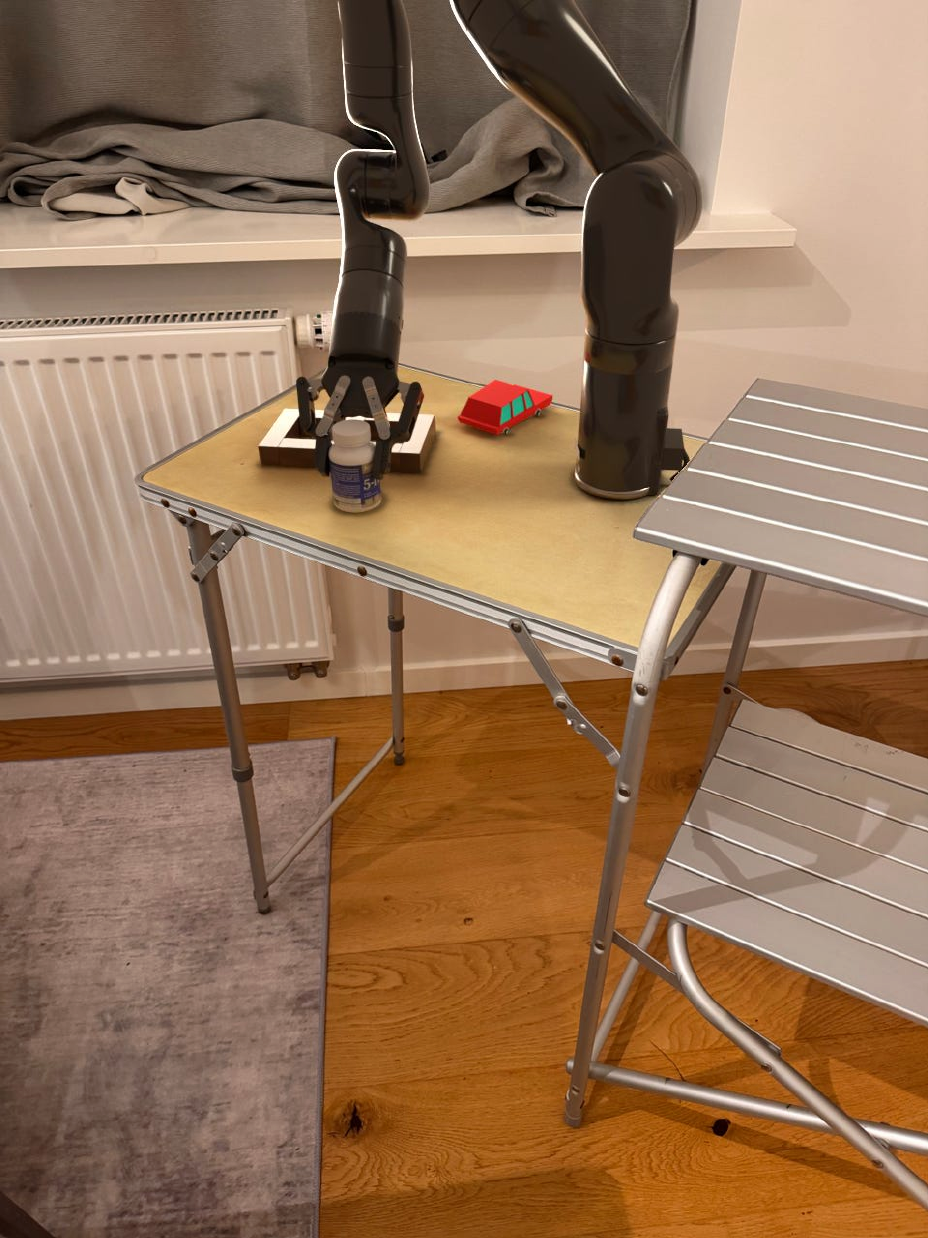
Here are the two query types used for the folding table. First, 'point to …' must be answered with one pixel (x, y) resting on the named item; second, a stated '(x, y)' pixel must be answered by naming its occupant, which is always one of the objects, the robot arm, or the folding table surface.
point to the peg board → (295, 452)
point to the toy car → (502, 406)
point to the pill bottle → (353, 467)
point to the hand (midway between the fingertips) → (350, 475)
